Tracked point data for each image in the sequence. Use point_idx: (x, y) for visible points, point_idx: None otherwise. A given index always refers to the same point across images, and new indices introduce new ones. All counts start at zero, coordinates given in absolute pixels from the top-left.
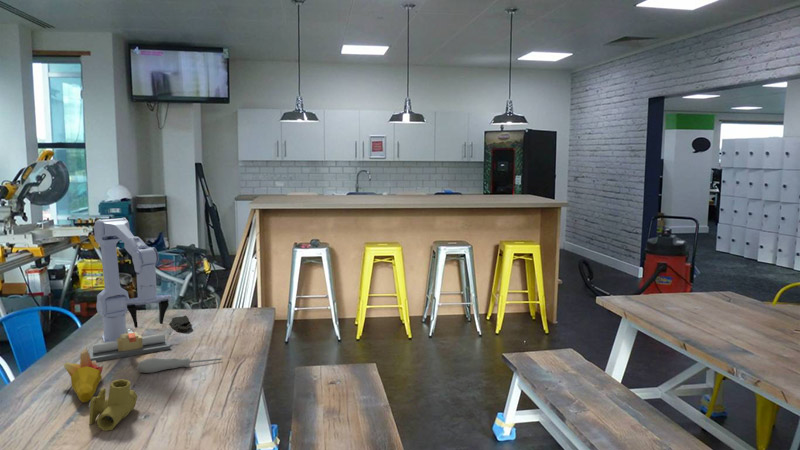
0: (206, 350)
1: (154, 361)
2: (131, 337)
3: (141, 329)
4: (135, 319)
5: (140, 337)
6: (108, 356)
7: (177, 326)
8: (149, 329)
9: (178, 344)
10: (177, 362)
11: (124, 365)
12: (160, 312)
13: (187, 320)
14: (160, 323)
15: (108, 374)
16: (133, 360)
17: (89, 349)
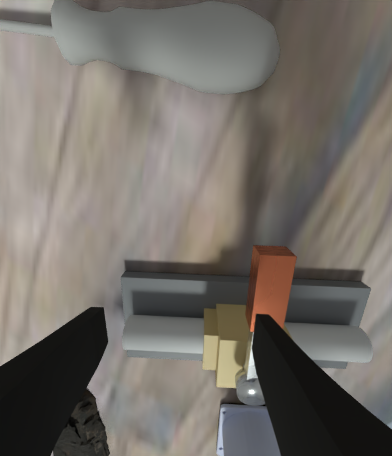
0: (12, 194)
1: (209, 6)
2: (284, 259)
3: (177, 452)
4: (301, 367)
5: (209, 340)
6: (314, 284)
7: (85, 423)
8: (159, 444)
9: (98, 300)
10: (110, 12)
11: (283, 194)
12: (30, 414)
13: (55, 450)
14: (102, 314)
15: (355, 128)
16: (247, 228)
17: (343, 367)
